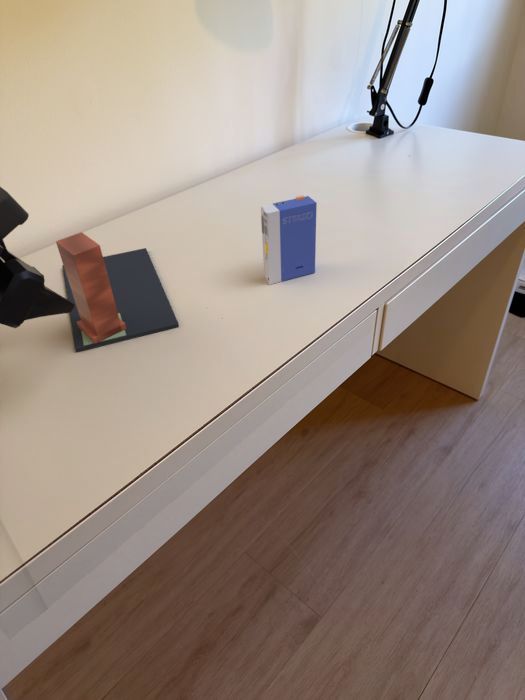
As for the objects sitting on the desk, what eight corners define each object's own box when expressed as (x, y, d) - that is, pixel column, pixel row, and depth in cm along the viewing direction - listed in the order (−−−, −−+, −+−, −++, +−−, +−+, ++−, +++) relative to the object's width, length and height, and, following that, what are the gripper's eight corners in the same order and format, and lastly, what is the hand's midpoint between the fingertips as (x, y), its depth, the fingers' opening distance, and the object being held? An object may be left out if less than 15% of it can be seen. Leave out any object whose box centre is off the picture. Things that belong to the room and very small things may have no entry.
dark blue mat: (179, 326, 73) (178, 321, 73) (76, 352, 70) (74, 347, 69) (146, 250, 91) (145, 246, 90) (63, 268, 87) (61, 263, 87)
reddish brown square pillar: (94, 344, 70) (67, 257, 62) (78, 327, 73) (50, 242, 65) (126, 329, 72) (104, 243, 64) (109, 313, 75) (86, 230, 67)
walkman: (307, 265, 85) (308, 193, 77) (315, 273, 83) (316, 200, 75) (262, 276, 83) (258, 203, 75) (269, 284, 81) (266, 211, 73)
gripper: (-12, 197, 47) (124, 263, 59) (-67, 149, 58) (56, 213, 70) (-68, 305, 48) (77, 348, 60) (-112, 238, 59) (18, 285, 71)
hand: (56, 293), depth 65 cm, fingers open, 9 cm apart
